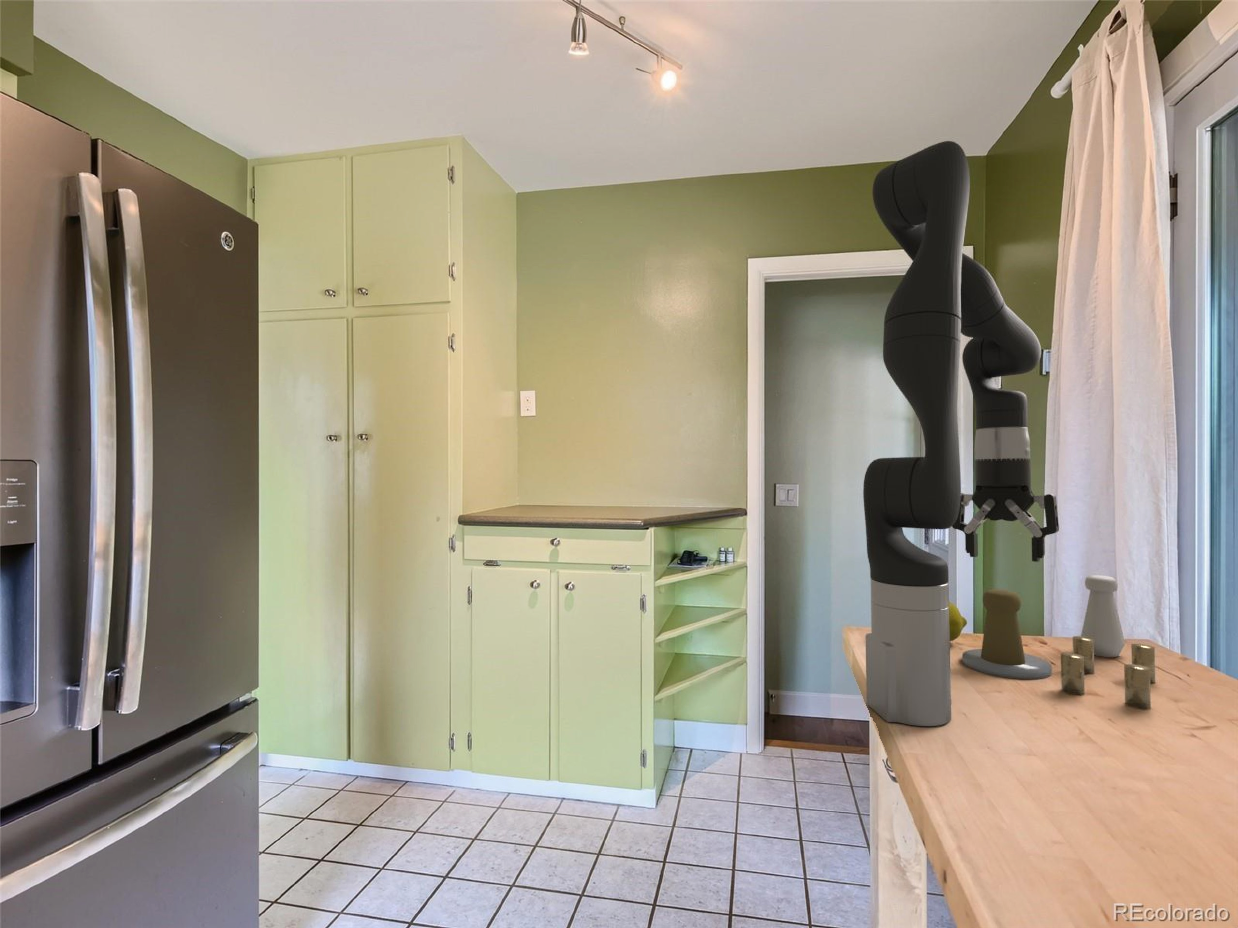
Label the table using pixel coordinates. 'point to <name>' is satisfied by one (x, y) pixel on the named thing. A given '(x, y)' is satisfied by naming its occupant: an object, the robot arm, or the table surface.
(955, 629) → the lemon
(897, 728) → the table surface
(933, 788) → the table surface
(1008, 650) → the cork
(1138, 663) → the cylinder
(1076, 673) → the cylinder
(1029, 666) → the slate coaster
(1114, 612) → the salt shaker
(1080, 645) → the cylinder
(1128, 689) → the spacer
